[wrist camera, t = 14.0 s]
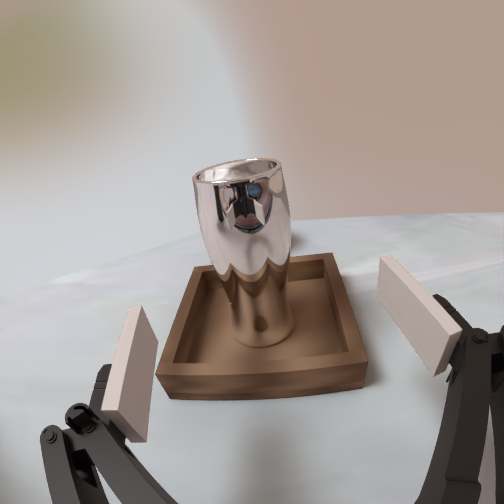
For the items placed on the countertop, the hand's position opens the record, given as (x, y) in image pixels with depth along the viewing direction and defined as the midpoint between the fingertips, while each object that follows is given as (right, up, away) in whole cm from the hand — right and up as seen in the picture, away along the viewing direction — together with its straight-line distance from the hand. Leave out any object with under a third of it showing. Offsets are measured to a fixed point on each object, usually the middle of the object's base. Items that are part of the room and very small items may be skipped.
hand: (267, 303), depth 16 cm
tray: (0, -5, +13) cm, 14 cm away
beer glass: (0, -5, +13) cm, 14 cm away
